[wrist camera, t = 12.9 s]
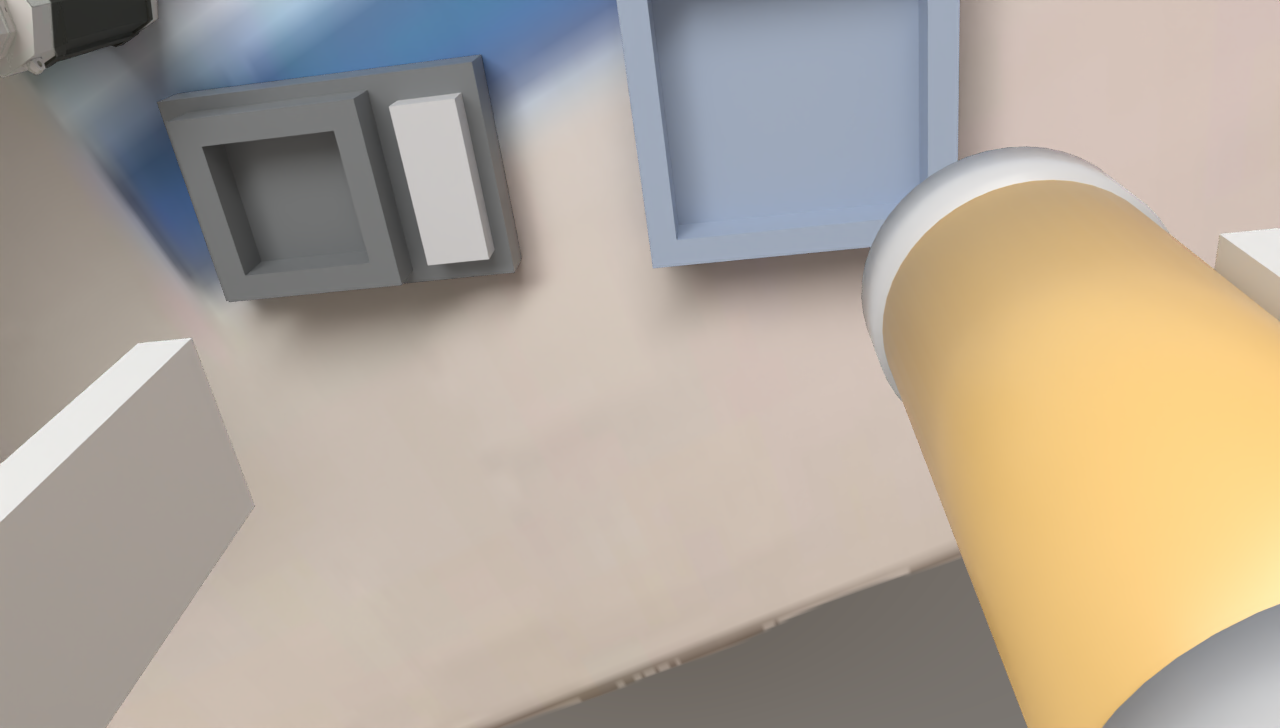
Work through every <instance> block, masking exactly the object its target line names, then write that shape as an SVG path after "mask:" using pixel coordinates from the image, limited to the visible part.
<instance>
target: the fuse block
mask: <svg viewBox="0 0 1280 728" xmlns="http://www.w3.org/2000/svg"><path fill="white" fill-rule="evenodd" d="M157 104H158V107H159V110H160V113H161V115H162V118H163V121H164V124H165V127H166V130H167V133H168V135H169V138H170V141H171V144H172V147H173V150H174V153H175V155H176V158H177V161H178V164H179V167H180V170H181V173H182V175H183V178H184V181H185V184H186V187H187V190H188V193H189V195H190V198H191V201H192V204H193V207H194V210H195V213H196V215H197V218H198V221H199V224H200V227H201V230H202V232H203V235H204V238H205V241H206V244H207V247H208V250H209V252H210V255H211V258H212V261H213V264H214V267H215V270H216V272H217V275H218V278H219V281H220V284H221V287H222V290H223V292H224V295H225V298H226V301H229V302H235V301H245V300H256V299H266V298H276V297H286V296H296V295H306V294H317V293H327V292H337V291H347V290H357V289H367V288H377V287H388V286H398V285H402V284H403V283H413V282H423V281H433V280H443V279H453V278H464V277H474V276H484V275H494V274H504V273H514V272H515V271H516V269H517V267H518V265H519V263H520V261H521V259H522V257H521V252H520V247H519V242H518V237H517V232H516V227H515V222H514V217H513V212H512V207H511V202H510V197H509V192H508V187H507V182H506V177H505V172H504V167H503V162H502V157H501V152H500V147H499V142H498V137H497V132H496V127H495V122H494V117H493V112H492V107H491V102H490V97H489V92H488V87H487V82H486V77H485V72H484V67H483V62H482V57H481V55H474V56H466V57H458V58H450V59H443V60H435V61H427V62H419V63H411V64H404V65H396V66H388V67H380V68H373V69H365V70H357V71H349V72H341V73H334V74H326V75H318V76H310V77H302V78H295V79H287V80H279V81H271V82H264V83H256V84H248V85H240V86H232V87H225V88H217V89H209V90H201V91H194V92H186V93H178V94H175V95H173V96H170V97H168V98H166V99H163V100H161V101H158V102H157Z"/></svg>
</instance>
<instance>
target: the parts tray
mask: <svg viewBox="0 0 1280 728" xmlns="http://www.w3.org/2000/svg"><path fill="white" fill-rule="evenodd" d="M617 8H618V15H619V22H620V30H621V37H622V44H623V52H624V59H625V66H626V74H627V81H628V88H629V96H630V103H631V110H632V118H633V125H634V132H635V140H636V147H637V154H638V162H639V169H640V176H641V184H642V191H643V198H644V206H645V213H646V220H647V228H648V235H649V242H650V250H651V257H652V264H653V268H661V267H671V266H681V265H692V264H702V263H712V262H723V261H733V260H743V259H753V258H764V257H774V256H784V255H794V254H805V253H815V252H825V251H835V250H846V249H856V248H866V247H871V246H872V243H873V241H874V239H875V237H876V235H877V233H878V231H879V229H880V228H881V226H882V225H883V223H884V222H885V220H886V219H887V217H888V215H889V214H890V213H891V212H892V211H893V209H894V208H895V207H896V206H897V205H898V203H899V202H900V201H901V200H902V199H903V198H904V197H905V196H906V195H907V194H908V193H909V192H911V191H912V190H913V189H914V188H915V187H916V186H917V185H919V184H920V183H921V182H923V181H924V180H925V179H927V178H928V177H929V176H931V175H932V174H934V173H936V172H937V171H939V170H941V169H943V168H944V167H946V166H948V165H950V164H952V163H954V162H957V161H958V102H959V19H960V0H617Z"/></svg>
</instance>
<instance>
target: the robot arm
mask: <svg viewBox="0 0 1280 728" xmlns="http://www.w3.org/2000/svg"><path fill="white" fill-rule="evenodd" d="M1214 270H1216V271H1217V272H1218V273H1219V274H1221V275H1222V276H1223V277H1224V278H1226V279H1227V280H1228V281H1229V282H1231V283H1232V284H1233V285H1234V286H1236V287H1237V288H1238V289H1239V290H1241V291H1242V292H1243V293H1244V294H1246V295H1247V296H1248V297H1250V298H1251V299H1252V300H1253V301H1255V302H1256V303H1257V304H1258V305H1260V306H1261V307H1262V308H1263V309H1265V310H1266V311H1267V312H1268V313H1270V314H1271V315H1272V316H1273V317H1275V318H1276V319H1277V320H1278V321H1280V228H1275V229H1265V230H1255V231H1245V232H1235V233H1225V234H1220V235H1219V242H1218V249H1217V256H1216V262H1215V269H1214ZM254 507H255V505H254V502H253V499H252V497H251V494H250V491H249V489H248V486H247V483H246V481H245V478H244V475H243V473H242V470H241V467H240V465H239V462H238V459H237V457H236V454H235V451H234V449H233V446H232V443H231V441H230V438H229V435H228V433H227V430H226V428H225V425H224V422H223V420H222V417H221V414H220V412H219V409H218V406H217V404H216V401H215V398H214V396H213V393H212V390H211V388H210V385H209V382H208V380H207V377H206V374H205V372H204V369H203V366H202V364H201V361H200V358H199V356H198V353H197V350H196V348H195V345H194V342H193V340H192V338H185V339H175V340H165V341H155V342H145V343H138V344H137V345H135V346H134V347H133V348H132V349H131V350H130V351H129V352H128V353H126V354H125V355H124V356H123V357H122V358H121V359H120V360H118V361H117V362H116V363H115V364H114V365H113V366H112V367H110V368H109V369H108V370H107V371H106V372H105V373H104V374H102V375H101V376H100V377H99V378H98V379H97V380H96V381H95V382H93V383H92V384H91V385H90V386H89V387H88V388H87V389H85V390H84V391H83V392H82V393H81V394H80V395H79V396H77V397H76V398H75V399H74V400H73V401H72V402H71V403H70V404H68V405H67V406H66V407H65V408H64V409H63V410H62V411H60V412H59V413H58V414H57V415H56V416H55V417H54V418H52V419H51V420H50V421H49V422H48V423H47V424H46V425H44V426H43V427H42V428H41V429H40V430H39V431H38V432H37V433H35V434H34V435H33V436H32V437H31V438H30V439H29V440H27V441H26V442H25V443H24V444H23V445H22V446H21V447H19V448H18V449H17V450H16V451H15V452H14V453H13V454H11V455H10V456H9V457H8V458H7V459H6V460H5V461H4V462H2V463H1V464H0V728H106V727H107V725H108V724H109V722H110V721H111V719H112V718H113V716H114V715H115V713H116V712H117V710H118V709H119V708H120V706H121V705H122V703H123V702H124V700H125V699H126V697H127V696H128V694H129V693H130V691H131V690H132V688H133V687H134V685H135V684H136V682H137V681H138V679H139V678H140V676H141V675H142V673H143V672H144V670H145V669H146V667H147V666H148V664H149V663H150V661H151V660H152V658H153V657H154V655H155V654H156V653H157V651H158V650H159V648H160V647H161V645H162V644H163V642H164V641H165V639H166V638H167V636H168V635H169V633H170V632H171V630H172V629H173V627H174V626H175V624H176V623H177V621H178V620H179V618H180V617H181V615H182V614H183V612H184V611H185V609H186V608H187V606H188V605H189V603H190V602H191V600H192V599H193V598H194V596H195V595H196V593H197V592H198V590H199V589H200V587H201V586H202V584H203V583H204V581H205V580H206V578H207V577H208V575H209V574H210V572H211V571H212V569H213V568H214V566H215V565H216V563H217V562H218V560H219V559H220V557H221V556H222V554H223V553H224V551H225V550H226V548H227V547H228V545H229V544H230V542H231V541H232V540H233V538H234V537H235V535H236V534H237V532H238V531H239V529H240V528H241V526H242V525H243V523H244V522H245V520H246V519H247V517H248V516H249V514H250V513H251V511H252V510H253V508H254Z"/></svg>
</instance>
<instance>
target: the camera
mask: <svg viewBox="0 0 1280 728" xmlns="http://www.w3.org/2000/svg"><path fill="white" fill-rule="evenodd" d="M157 19H158V8H157V0H0V77H7V76H11V75H14V74H17V73H21V72H24V71H27V70H28V71H30V72H32V73H33V74H37V75H38V74H40V73H42V72H43V71H44V70H45V69H46V68H48V67H50V66H52V65H53V64H55V63H56V62H58V61H61V60H64V59H68V58H71V57H74V56H78V55H81V54H84V53H88V52H91V51H94V50H98V49H101V48H104V47H108V46H115V47H117V46H121V45H124V44H125V43H126V42H128V41H129V40H131V39H132V38H134V37H135V36H136V35H138V34H139V32H140V31H141V30H143V29H144V28H145V27H147V26H148V25H150V24H151V23H153V22H154V21H155V20H157Z"/></svg>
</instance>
